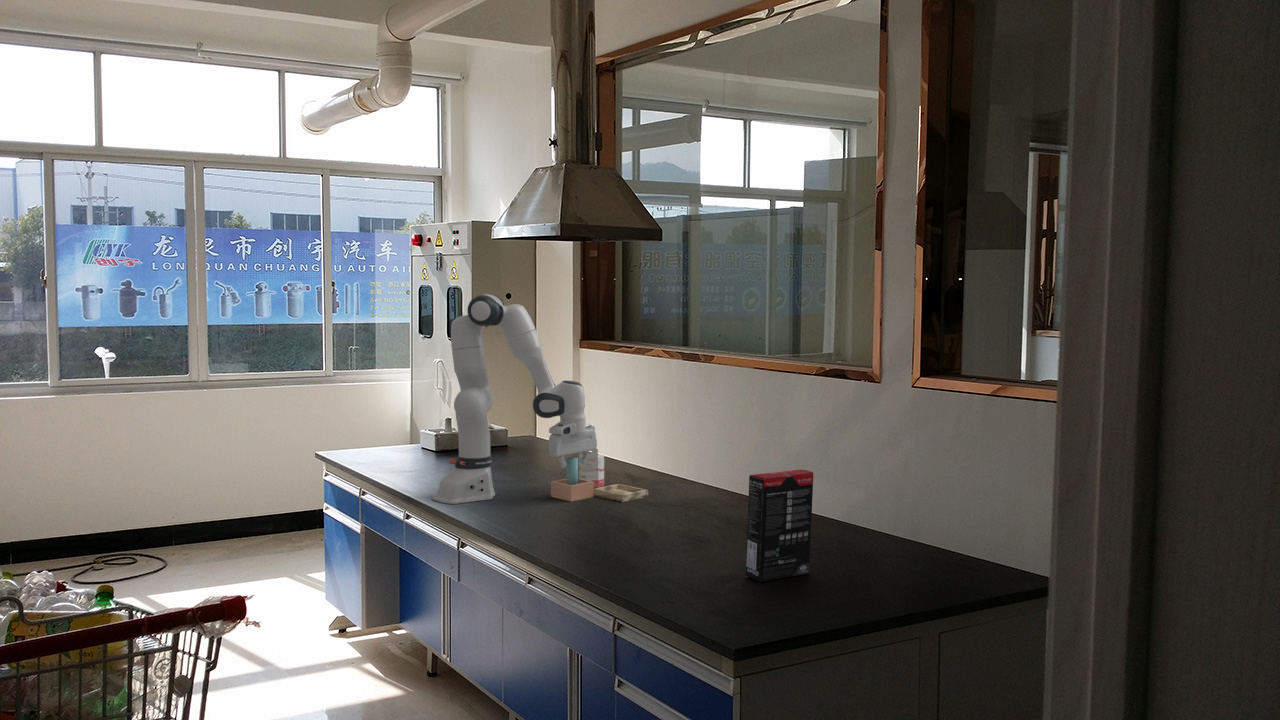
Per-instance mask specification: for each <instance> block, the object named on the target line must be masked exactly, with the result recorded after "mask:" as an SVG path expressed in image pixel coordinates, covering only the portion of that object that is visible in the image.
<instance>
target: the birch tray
mask: <svg viewBox="0 0 1280 720" xmlns="http://www.w3.org/2000/svg"><path fill="white" fill-rule="evenodd" d="M593 497H596V498H601V499H605V498H606V500H609V501H614V500H616V501H615V502H619V501H620V502H621V503H625V501H626V502H630V501H634V500H639V499H644V498H648V497H649V490H648V489H646V488H641V487H636V486H631V485H626V484H621V483H616V484H611V485H604V486H602V487H599V488H594V491H593ZM620 502H619V503H620Z"/></svg>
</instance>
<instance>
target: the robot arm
mask: <svg viewBox="0 0 1280 720" xmlns="http://www.w3.org/2000/svg"><path fill="white" fill-rule="evenodd" d="M490 326H491V327H492V326H493V327H494V326H498V327H499V328H500V329H501V331H502V333H503V335H504V338H505V341H506V343H507V346H508V348H509V350H510V351H511V352H510V353H512V355H513V357H514V358H515V359H517V360H518V361H520V362H521V363H522V364H524V365H525V366H526V368H527V369H528V371H529V373H530V376H531V378H532V380H533V382H534V385H535V388H536V389H537V395H535V397H534V399H533V402H532V409H533V411H534V413H535V414H536V415H537V416H538V417H540V418H542V419H551V418H554V417H555V418H556V417H559V418H560V421H559V422H557V423H555V424H554V425H552V426H551V427H549V429H548V433H549V434H550V435H549V436H548V437H549V438H548V454H549V455H550V456H551V457H557V459H558V461H559V463H560V468H563V469H565V468H567V461H566V460H565V456H567V455H568V456H569V455H572V454H578V453H579V452H582V453H583V457H582V459H580V461H581V462H580V463H581V464H586V463H587V457H588V455H589V453H590V452H591V451H590V450H595V449H597V447H598V440H597V434H596V428H595V427H596V426H594V425H593V424H592V423H588V424H586V415H585V407H586V397H585V396H586V395H585V390H584V386H583V385H582V384H581V383H580V382H578V381H574V380H562V381H561V382H560V383H558V384H557V385H556V384H555V382H554V380H553V379H552V376H551V374H550V371H549V369H548V366H547V363H546V362H545V359H544V355H543V350H542V346H541V341H540V337H539V334H538V332H537V331H538V330H537V329H536V327H535V324H534V322H533V320H532V318H531V316H530V314H529V313H528V311H527V309H526V308H525V307H524V306H523V305H522V304H519V303H513V304H509V305H505V304H504V301H503V299H501V298H500V297H499V296H498V295H496V294H494V293H493V294H491V293H483V294H480V295H477V296H474V297H473V298H472V299H471V300H470V301H469V303H468V305H467V314H466V315H460V316H458V317H456V318H454V320H453V321H452V322H451V326H450V329H451V330H450V343H451V344H450V345H451V346H450V347H451V352H452V353H451V354H452V360H453V361H452V363H453V369H454V370H453V371H454V373H455V374H456V378H457V381H458V385H459V388H460V391H459V392H458V393H457V394H456V397H455V399H454V401H453V408H454V413H455V419H456V420H455V421H456V426H457V431H458V432H457V434H458V456H457V458H453V457H451V458H449V460H448V462H449V464H450V465H454V468H453V469H451V470H450V472H448V474H447V475H445V476H444V477H443V478H442V479H441V480H440V482H439V485H438V493H436V494H432V495H431V500H433V501H435V502H439V503H443V504H450V505H458V504H464V503H465V504H466V503H472V502H473V503H474V502H478V501H479V502H480V501H487V500H493V499H494V497H495V496H496V492H495V489H494V485H493V479H492V462H493V460H492V459H493V458H492V454H491V431H490V428H489V422H488V412H489V411H490V410H491V409H492V407H493V405H494V399H495V398H494V394H493V391H492V386H491V381H490V377H489V374H488V369H487V365H486V358H485V348H484V341H483V331H484V329H485V328H487V327H490Z"/></svg>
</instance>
